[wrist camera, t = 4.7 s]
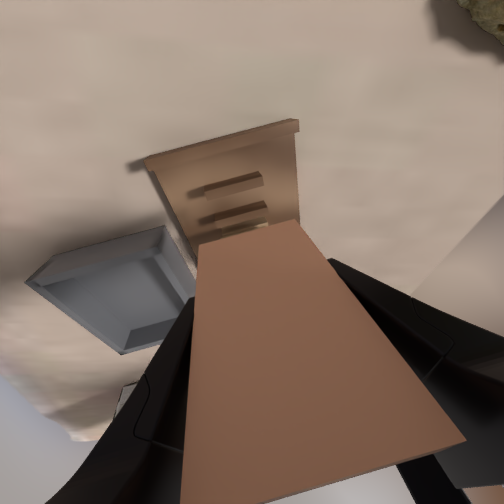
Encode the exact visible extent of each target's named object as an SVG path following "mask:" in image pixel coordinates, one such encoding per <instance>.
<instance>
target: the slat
mask: <svg viewBox="0 0 504 504" xmlns="http://www.w3.org/2000/svg"><path fill="white" fill-rule="evenodd" d="M465 441H467V440H466V439H465V437H464V436H463V435H462V433H461V432H460V431H459V430H458V428H457V427H456V426H455V424H454V423H453V422H452V421H451V419H450V418H449V417H448V415H447V414H446V413H445V412H444V410H443V409H442V408H441V406H440V405H439V404H438V403H437V401H436V400H435V399H434V397H433V396H432V395H431V394H430V392H429V391H428V390H427V388H426V387H425V386H424V385H423V383H422V382H421V381H420V379H419V378H418V377H417V376H416V374H415V373H414V372H413V370H412V369H411V368H410V366H409V365H408V364H407V363H406V361H405V360H404V359H403V357H402V356H401V355H400V354H399V352H398V351H397V350H396V348H395V347H394V346H393V345H392V343H391V342H390V341H389V339H388V338H387V337H386V336H385V334H384V333H383V332H382V330H381V329H380V328H379V327H378V325H377V324H376V323H375V321H374V320H373V319H372V318H371V316H370V315H369V314H368V312H367V311H366V310H365V309H364V307H363V306H362V305H361V303H360V302H359V301H358V300H357V298H356V297H355V296H354V294H353V293H352V292H351V290H350V289H349V288H348V287H347V285H346V284H345V283H344V281H343V280H342V279H341V278H340V277H339V276H338V274H337V273H336V271H335V270H334V269H333V267H332V266H331V265H330V263H329V262H328V261H327V260H326V258H325V257H324V256H323V254H322V253H321V252H320V251H319V249H318V248H317V247H316V245H315V244H314V243H313V242H312V240H311V239H310V238H309V236H308V235H307V234H306V233H305V231H304V230H303V229H302V227H301V226H300V225H299V224H298V222H297V221H296V220H295V219H292V220H289V221H285V222H281V223H278V224H274V225H270V226H267V227H263V228H259V229H256V230H252V231H248V232H245V233H241V234H237V235H234V236H230V237H227V238H223V239H219V240H216V241H212V242H208V243H205V244H201V245H199V251H198V265H197V278H196V292H195V306H194V321H193V333H192V346H191V360H190V374H189V387H188V401H187V414H186V428H185V442H184V455H183V469H182V482H181V496H180V504H265V503H269V502H272V501H275V500H279V499H282V498H285V497H289V496H292V495H296V494H298V493H302V492H305V491H309V490H312V489H316V488H319V487H322V486H325V485H329V484H332V483H336V482H339V481H343V480H346V479H349V478H353V477H355V476H359V475H363V474H366V473H369V472H372V471H376V470H379V469H383V468H386V467H389V466H393V465H396V464H400V463H403V462H406V461H410V460H413V459H416V458H420V457H423V456H426V455H430V454H433V453H437V452H440V451H443V450H445V449H447V448H450V447H452V446H455V445H457V444H460V443H462V442H465Z"/></svg>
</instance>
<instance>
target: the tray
mask: <svg viewBox="0 0 504 504" xmlns="http://www.w3.org/2000/svg"><path fill="white" fill-rule="evenodd" d="M24 283H25V284H27V285H28V286H29V287H31V288H32V289H33V290H35V291H36V292H37V293H39V294H40V295H41V296H43V297H44V298H45V299H47V300H48V301H49V302H51V303H52V304H53V305H55V306H56V307H57V308H59V309H60V310H61V311H63V312H64V313H65V314H67V315H68V316H69V317H71V318H72V319H73V320H75V321H76V322H77V323H79V324H80V325H81V326H83V327H84V328H85V329H87V330H88V331H89V332H91V333H92V334H93V335H95V336H96V337H97V338H99V339H100V340H101V341H103V342H104V343H105V344H107V345H108V346H109V347H111V348H112V349H114V350H115V351H116V352H118V353H119V354H120V355H124V354H127V353H131V352H134V351H138V350H142V349H145V348H149V347H152V346H156V345H159V344H161V343H162V342H163V340H164V339H165V337H166V335H167V334H168V332H169V330H170V329H171V327H172V325H173V324H174V322H175V320H176V319H177V317H178V315H179V314H180V312H181V310H182V309H183V307H184V305H185V304H186V302H187V300H188V299H189V298H190V297H194V296H195V292H196V281H195V279H194V277H193V275H192V273H191V272H190V270H189V268H188V266H187V264H186V263H185V261H184V259H183V257H182V255H181V253H180V252H179V250H178V248H177V246H176V244H175V243H174V241H173V239H172V237H171V235H170V234H169V232H168V230H167V228H166V226H161V227H157V228H154V229H150V230H146V231H143V232H139V233H135V234H132V235H128V236H124V237H121V238H117V239H113V240H109V241H106V242H102V243H98V244H95V245H91V246H87V247H84V248H80V249H76V250H73V251H69V252H65V253H61V254H58V255H54V256H52V257H51V258H50V259H49V260H48V261H47V262H46V263H44V264H43V265H42V266H41V267H40V268H39V269H38V270H37V271H36V272H35V273H34V274H33V275H32V276H31V277H30V278H28V279H27V280H26V281H25V282H24Z"/></svg>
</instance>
